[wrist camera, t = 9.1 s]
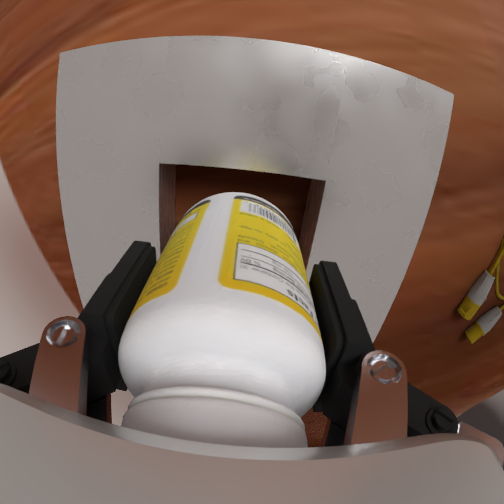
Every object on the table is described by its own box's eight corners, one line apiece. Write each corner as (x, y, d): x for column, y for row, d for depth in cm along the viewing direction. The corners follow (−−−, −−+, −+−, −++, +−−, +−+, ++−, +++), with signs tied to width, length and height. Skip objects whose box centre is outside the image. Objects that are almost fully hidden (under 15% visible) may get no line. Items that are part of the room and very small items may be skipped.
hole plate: (91, 57, 11) (60, 52, 9) (422, 92, 12) (454, 94, 9) (110, 319, 20) (96, 347, 17) (346, 344, 21) (355, 374, 18)
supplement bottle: (188, 299, 14) (138, 493, 6) (164, 195, 12) (21, 399, 3) (298, 294, 14) (326, 502, 5) (296, 184, 11) (381, 425, 3)
